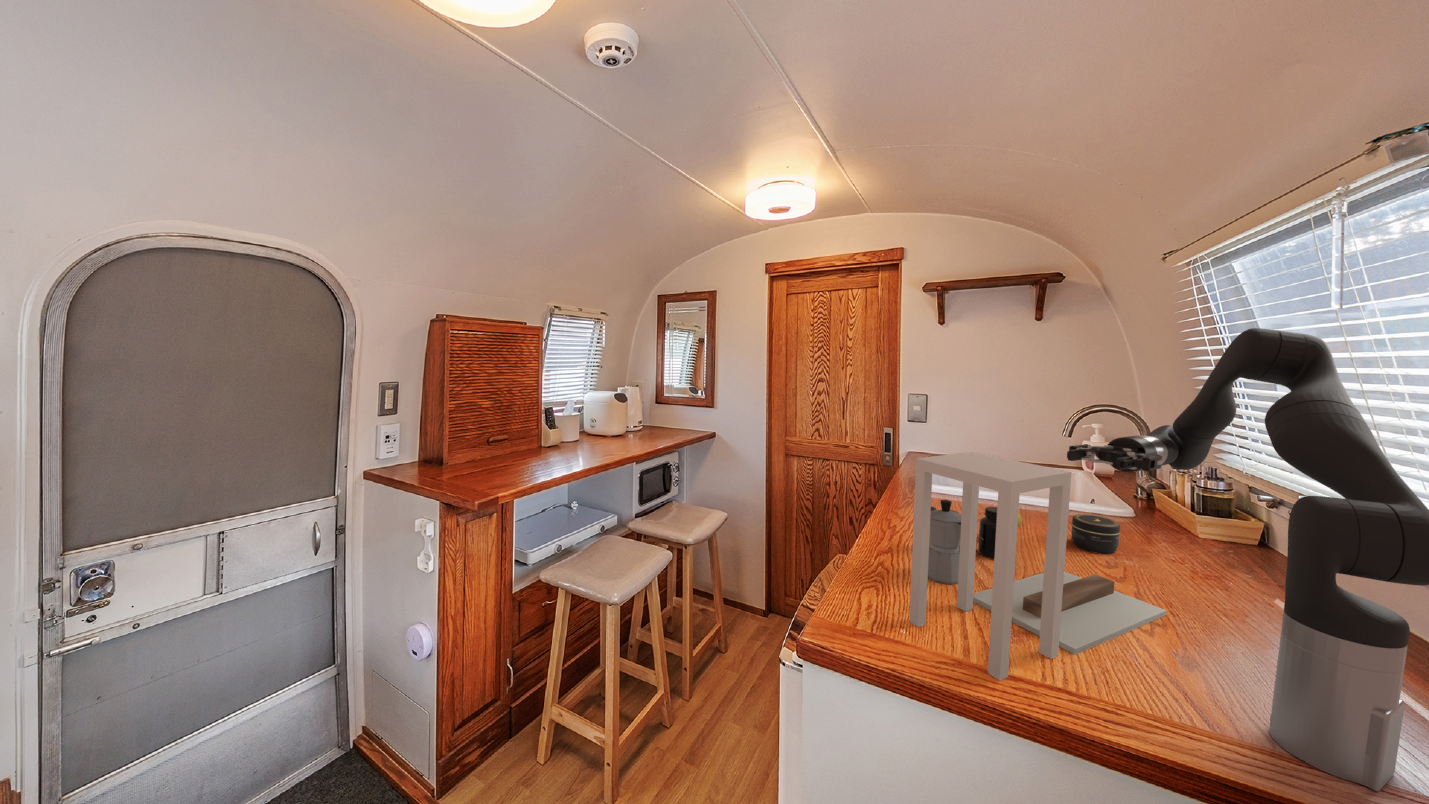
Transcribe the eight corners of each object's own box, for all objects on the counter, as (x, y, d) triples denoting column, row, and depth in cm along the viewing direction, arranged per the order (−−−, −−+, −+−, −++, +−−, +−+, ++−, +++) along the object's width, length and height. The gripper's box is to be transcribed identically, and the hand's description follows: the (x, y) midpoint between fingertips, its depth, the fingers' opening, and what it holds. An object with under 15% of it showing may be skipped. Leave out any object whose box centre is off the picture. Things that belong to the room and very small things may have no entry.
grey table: (1058, 655, 79) (1071, 471, 76) (999, 680, 73) (1011, 481, 70) (963, 604, 95) (971, 451, 92) (909, 621, 89) (916, 458, 86)
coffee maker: (980, 584, 104) (984, 506, 102) (951, 592, 101) (955, 511, 99) (927, 558, 118) (930, 488, 116) (900, 563, 115) (903, 492, 113)
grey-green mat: (1165, 615, 92) (1166, 610, 91) (1075, 654, 79) (1075, 649, 79) (1056, 572, 110) (1057, 568, 110) (969, 599, 98) (969, 594, 98)
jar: (1113, 544, 126) (1116, 517, 125) (1122, 558, 118) (1125, 529, 117) (1068, 537, 131) (1069, 511, 131) (1073, 550, 123) (1075, 522, 122)
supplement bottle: (971, 551, 122) (974, 507, 120) (989, 547, 124) (991, 503, 123) (997, 562, 115) (1000, 515, 114) (1014, 557, 118) (1017, 511, 117)
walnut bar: (1113, 593, 98) (1114, 581, 98) (1041, 618, 89) (1042, 605, 88) (1094, 585, 101) (1095, 574, 101) (1022, 609, 92) (1023, 596, 92)
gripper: (1099, 431, 107) (1056, 436, 100) (1181, 441, 94) (1137, 447, 87) (1097, 463, 108) (1054, 470, 101) (1177, 477, 95) (1134, 486, 88)
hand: (1092, 459), depth 94 cm, fingers open, 8 cm apart
